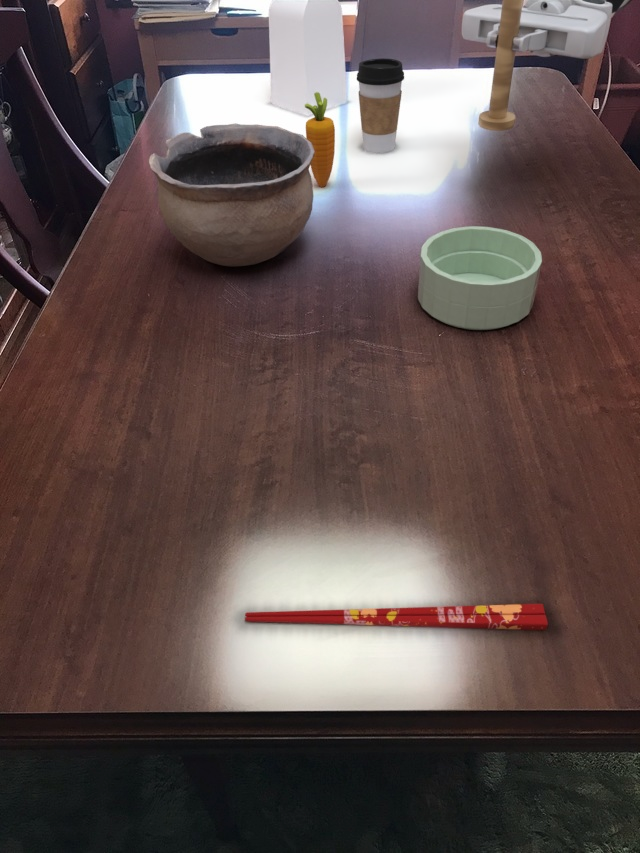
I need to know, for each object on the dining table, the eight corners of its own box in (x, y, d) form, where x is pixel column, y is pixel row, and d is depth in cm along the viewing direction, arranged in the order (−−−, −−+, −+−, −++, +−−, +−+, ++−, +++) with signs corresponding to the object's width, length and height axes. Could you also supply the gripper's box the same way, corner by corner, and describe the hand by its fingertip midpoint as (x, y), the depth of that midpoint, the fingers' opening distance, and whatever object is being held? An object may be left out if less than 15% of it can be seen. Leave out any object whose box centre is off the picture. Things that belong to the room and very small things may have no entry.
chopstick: (246, 612, 56) (244, 606, 56) (541, 609, 56) (543, 602, 55) (244, 634, 55) (242, 627, 54) (546, 631, 54) (548, 624, 54)
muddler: (499, 115, 104) (522, -53, 90) (521, 126, 100) (549, -48, 86) (471, 122, 102) (490, -48, 88) (492, 133, 99) (515, -43, 84)
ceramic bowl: (222, 208, 113) (208, 113, 103) (342, 231, 105) (340, 131, 95) (139, 272, 98) (114, 168, 88) (272, 304, 91) (261, 195, 81)
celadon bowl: (485, 263, 97) (492, 216, 92) (556, 313, 87) (567, 264, 82) (396, 291, 92) (399, 243, 88) (460, 347, 83) (466, 296, 78)
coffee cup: (347, 152, 129) (347, 64, 119) (371, 137, 134) (372, 52, 124) (386, 160, 125) (389, 71, 115) (409, 145, 130) (413, 58, 120)
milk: (271, 105, 150) (260, -37, 133) (310, 92, 156) (304, -46, 138) (308, 117, 143) (301, -30, 126) (347, 103, 149) (346, -40, 131)
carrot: (331, 195, 115) (329, 100, 105) (303, 192, 116) (298, 98, 106) (340, 183, 119) (338, 90, 108) (313, 180, 120) (309, 88, 110)
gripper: (491, -12, 104) (441, 7, 96) (624, 4, 94) (579, 26, 86) (486, 35, 108) (437, 56, 101) (612, 55, 98) (569, 80, 91)
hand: (504, 42), depth 93 cm, fingers closed on muddler, 2 cm apart
